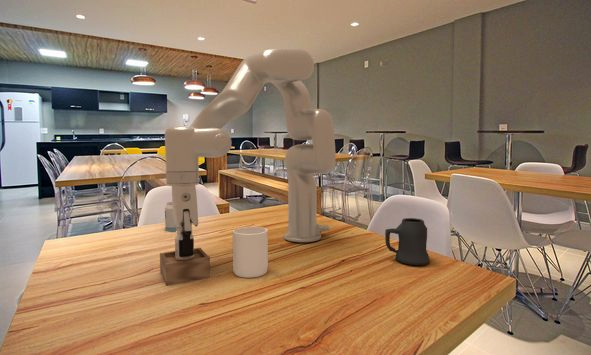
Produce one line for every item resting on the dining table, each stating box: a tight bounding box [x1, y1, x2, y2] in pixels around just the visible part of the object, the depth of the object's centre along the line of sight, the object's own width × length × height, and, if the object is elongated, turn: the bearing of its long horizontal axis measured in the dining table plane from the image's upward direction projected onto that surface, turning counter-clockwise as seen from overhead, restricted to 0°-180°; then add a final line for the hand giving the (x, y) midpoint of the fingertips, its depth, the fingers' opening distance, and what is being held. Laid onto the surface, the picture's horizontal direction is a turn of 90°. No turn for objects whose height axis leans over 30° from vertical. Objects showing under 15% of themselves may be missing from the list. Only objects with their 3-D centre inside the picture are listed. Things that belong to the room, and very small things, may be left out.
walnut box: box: [159, 247, 211, 286], centre depth 82 cm, size 10×10×5 cm
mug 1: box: [232, 226, 269, 279], centre depth 85 cm, size 9×12×11 cm
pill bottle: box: [174, 225, 195, 260], centre depth 81 cm, size 4×4×8 cm
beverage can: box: [164, 201, 177, 233], centre depth 123 cm, size 7×7×12 cm
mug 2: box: [384, 217, 430, 266], centre depth 93 cm, size 12×9×11 cm
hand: (185, 252), depth 82 cm, fingers closed on pill bottle, 4 cm apart
